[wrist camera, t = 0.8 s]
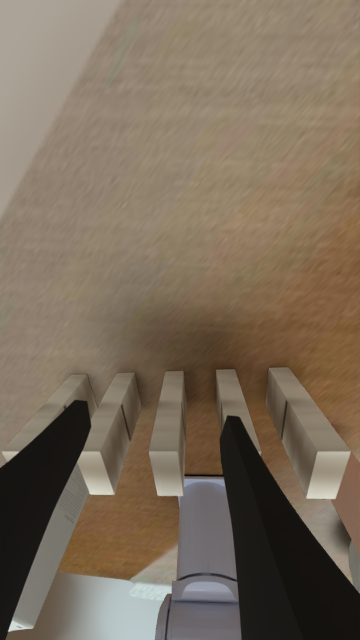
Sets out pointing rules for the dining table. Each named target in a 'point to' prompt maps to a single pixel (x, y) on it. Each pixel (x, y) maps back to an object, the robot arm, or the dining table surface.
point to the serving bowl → (354, 565)
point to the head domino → (350, 500)
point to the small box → (51, 551)
